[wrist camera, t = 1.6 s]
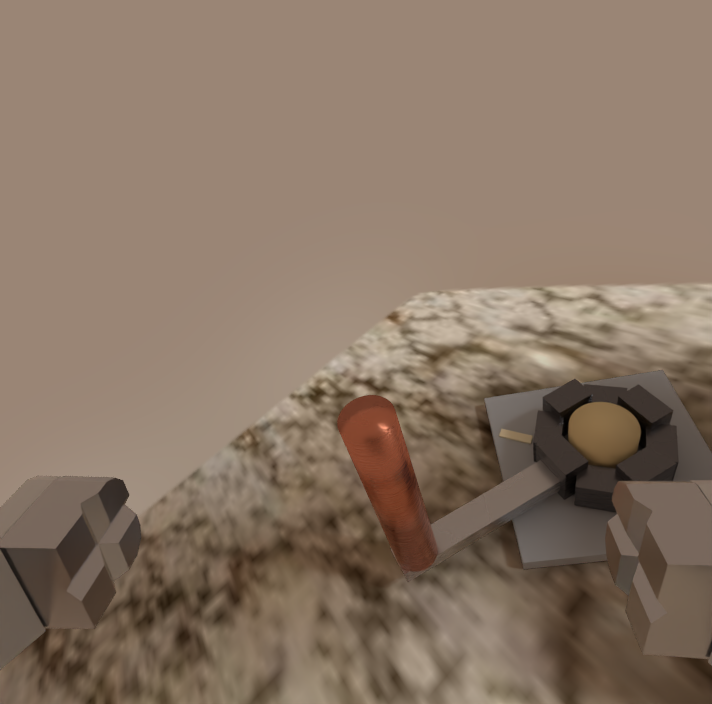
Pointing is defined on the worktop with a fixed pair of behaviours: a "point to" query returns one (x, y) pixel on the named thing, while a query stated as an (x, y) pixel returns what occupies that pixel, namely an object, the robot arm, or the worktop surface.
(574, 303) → the worktop surface
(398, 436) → the nut with spanner
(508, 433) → the plate
